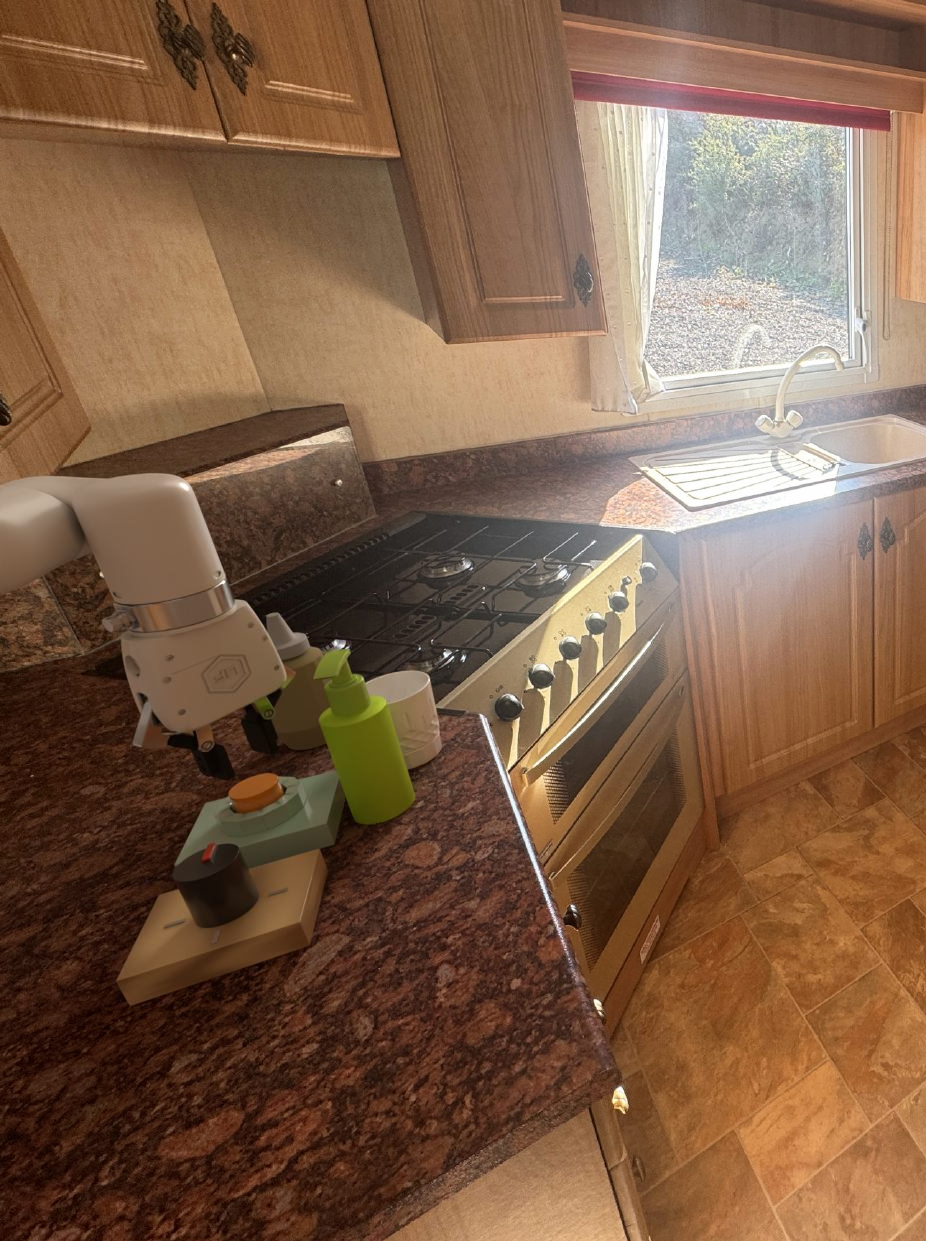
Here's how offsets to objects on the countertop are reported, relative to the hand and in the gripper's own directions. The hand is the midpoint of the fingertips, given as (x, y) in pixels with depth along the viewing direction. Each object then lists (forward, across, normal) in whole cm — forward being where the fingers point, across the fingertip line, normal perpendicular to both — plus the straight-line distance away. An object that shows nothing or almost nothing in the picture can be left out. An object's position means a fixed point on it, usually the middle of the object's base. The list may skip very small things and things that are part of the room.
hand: (243, 762), depth 75 cm
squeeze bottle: (+10, +14, +13) cm, 21 cm away
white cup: (+10, +15, -2) cm, 18 cm away
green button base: (+10, 0, 0) cm, 10 cm away
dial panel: (+10, -10, -10) cm, 17 cm away
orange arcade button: (+5, 0, 0) cm, 5 cm away
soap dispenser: (+10, +6, -8) cm, 14 cm away
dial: (+7, -10, -10) cm, 15 cm away
